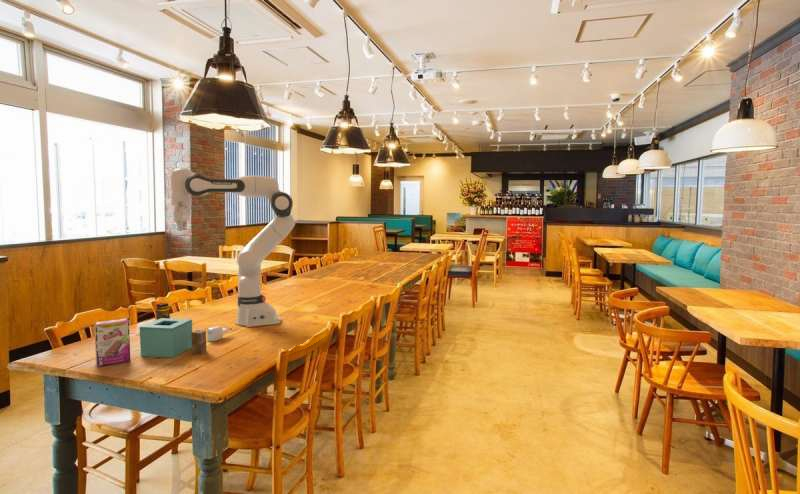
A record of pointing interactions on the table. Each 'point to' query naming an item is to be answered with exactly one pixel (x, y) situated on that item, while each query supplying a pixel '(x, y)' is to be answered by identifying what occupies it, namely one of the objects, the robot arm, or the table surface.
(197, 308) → the table surface
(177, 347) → the teal coin box
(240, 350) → the table surface
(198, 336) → the walnut block
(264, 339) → the table surface
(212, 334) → the power adapter
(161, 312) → the condiment
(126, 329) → the candy bar box
